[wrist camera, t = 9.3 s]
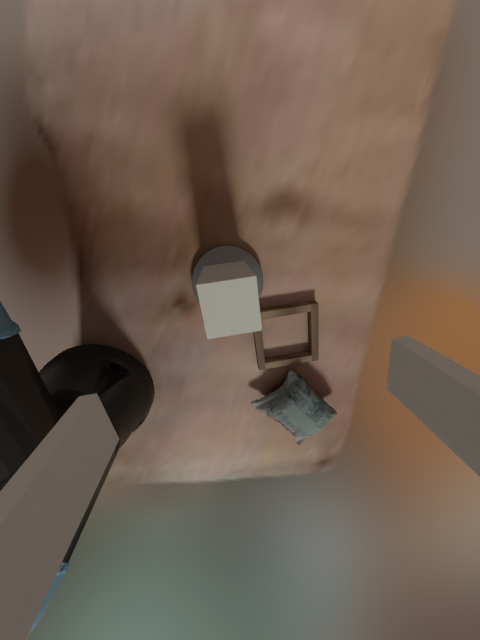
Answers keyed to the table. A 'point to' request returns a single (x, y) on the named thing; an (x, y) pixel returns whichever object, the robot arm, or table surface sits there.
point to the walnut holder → (312, 335)
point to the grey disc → (226, 256)
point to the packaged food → (296, 408)
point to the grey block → (229, 299)
